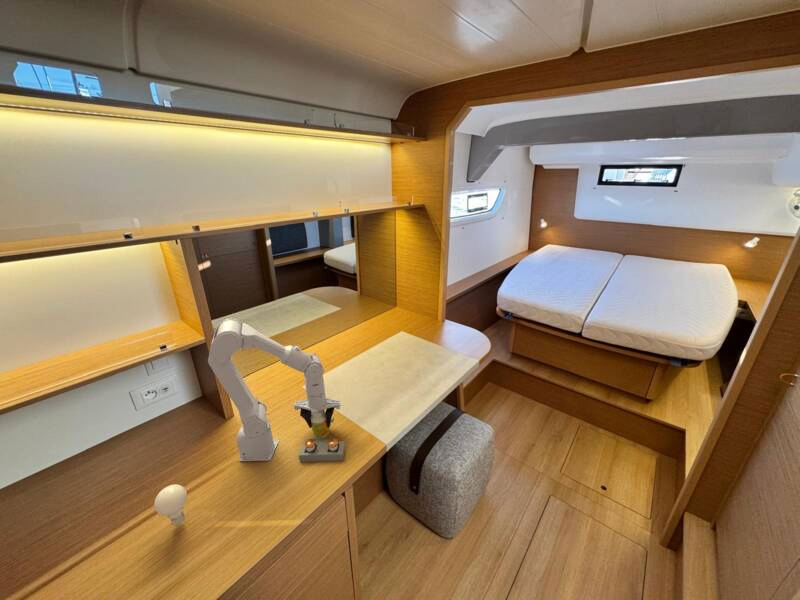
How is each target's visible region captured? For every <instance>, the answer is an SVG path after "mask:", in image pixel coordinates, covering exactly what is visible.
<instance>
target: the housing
mask: <svg viewBox="0 0 800 600" xmlns="http://www.w3.org/2000/svg"><path fill="white" fill-rule="evenodd" d="M332 422H334V417H333V416H332V417H331V423H332ZM314 440H315V453H307V451H306V447H305V442H302V446H301V447H300V451H299V453H298V460H299V462H336V461H337V462H340V461H341V462H342V461H343V460H344V456H345V449H346V444H345V441H338V452H330V451H329V446H328V439H314Z"/></svg>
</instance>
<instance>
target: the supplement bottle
mask: <svg viewBox="0 0 800 600" xmlns="http://www.w3.org/2000/svg"><path fill="white" fill-rule="evenodd" d="M325 412H326V409H323V410H319V411H318V412H317V413H312V415H311V425H312V428H311V431H312V436H313V437H314V438H315V439H322V438H325V437H326V436H328V435H329V433H330V428H328V427H327V419H326V416H325Z"/></svg>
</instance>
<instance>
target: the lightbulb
mask: <svg viewBox="0 0 800 600" xmlns="http://www.w3.org/2000/svg"><path fill="white" fill-rule="evenodd" d="M187 497H188V493H187V490H186V488H185V487H184V486H182V485H181V484H178V483H177V484H176V483H175V484H170V485H168V486H165V487H164V488H162V489H161V490H160V491H159V493H158V494H157V495H156V497H155V499H154V503H153V506H154V510H155V512H156V513H157V514H159V516H164V517H167V518H168V519H169V520H170V522H171V524H172V526H174V527H176V526H179V525H181V524H182V523H184V521H185V519H186V516H185V513H184V505H185V504H186V501H187V499H188V498H187Z"/></svg>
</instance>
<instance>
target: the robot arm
mask: <svg viewBox="0 0 800 600" xmlns="http://www.w3.org/2000/svg"><path fill="white" fill-rule="evenodd" d="M240 348H241V351H242V352H243V351H247V350H249V349H251V348H256V349H258V350H260V351H263V352H265V353H268V354H270V355H271V356H272V355H273V356H276V357H277V358H279V362H280V363H281V364H283V365H285V366H287V367H289V368H291V369H294V370H295V371H298V372H301V373H303V376H304V385H305V386H304V387H305V392H306V399H304V400H300V401H299V400H298V401H295V402H294V404H293V408H294V411H298V410H300V413H299V415H300V417H301V418H302V419H304V421H305V422H306V424H307V425H308V428H309V429H312V425H311V415H312V413H317V412H318V411H319V410H323V409H324V410H325V416H326V419H327V427H328V428H329V429H330V427H331V425H332V422H331V417H333V415H334V413H335V412H334V411H335V409H336V410H340V409H341V400H337V399H331V398H327V397H326V396H327V395H326V388H325V381H324V376H323V375H324V373H325V369H324V366H323V363H322V361H321V359H320V357H319V355H317V354H316V353H307V352H306V351H303V350H302V349H301V348H300V346H298V345H294V346H293V345H285V346H284V345H283V344H281V343H279V342H277V341H276V340H274V339H272V338H270V337H269V336H267V335H265V334H263V333H261V332H259V331H258V330H256V329H255V328H253V327H251V326H250V325H249V324H247V323H244V322H241V321H239V320H238V319H235V318H227V319H226V318H225V319H224V320H223V321H221V322H220V323H219V324H218V326H217V327H216V329H215V331H214V333H213V338H212V340H211V343H210V349H209V354H208V358H207V362H208V365H209V366H210V368H211V370H212V371H213V373H214V374H215V376H216V378H217V379H218V381H219V382H220V385H222V387H223V389H224V390H225V392H226V393H227V395H228V396H229V398H230V399H231V401H232V403H233V404H234V406H235V407H236V409H237V411H238V413H239V417H240V422H241V424H242V425H243V426H241V427H240V429H239V430H238V432H237V434H236V444H237V448H238V452H239V457H240V458H239V462H260V461H261V462H262V461H265V462H266V461H267V462H268V461H271V460H272V458H273V456H274V454H275V451H276V449H277V447H278V445H279V442H280V440H279V439H274V437H273V433H272V428H271V427H272V426H271V423H270V422H271V421H270V420H269V419H267V410H268V409H267V405H266V404H265V403H264V402H262V401H260V400H259V398H258V397H256V396H254V395H253V393H252V391H251V389H250V388H249V386H248V385H247V382H246V381H245V380H244V378H243V376H242V374H241V373H240V371H239V370H238V368H237V365H235V362H234V361H233V360H232V355H234V354H235V353H236V352H237V351H238V350H239V349H240Z"/></svg>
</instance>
